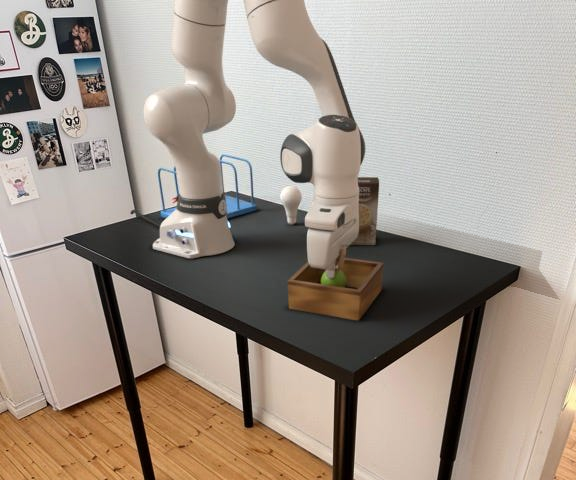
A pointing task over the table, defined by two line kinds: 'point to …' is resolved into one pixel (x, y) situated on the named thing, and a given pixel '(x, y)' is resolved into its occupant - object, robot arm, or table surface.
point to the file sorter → (233, 204)
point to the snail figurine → (339, 278)
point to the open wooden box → (336, 290)
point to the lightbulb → (291, 202)
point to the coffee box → (367, 210)
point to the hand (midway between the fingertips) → (334, 272)
